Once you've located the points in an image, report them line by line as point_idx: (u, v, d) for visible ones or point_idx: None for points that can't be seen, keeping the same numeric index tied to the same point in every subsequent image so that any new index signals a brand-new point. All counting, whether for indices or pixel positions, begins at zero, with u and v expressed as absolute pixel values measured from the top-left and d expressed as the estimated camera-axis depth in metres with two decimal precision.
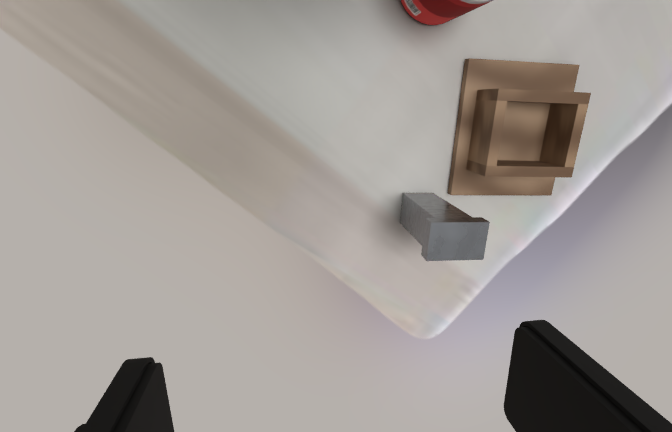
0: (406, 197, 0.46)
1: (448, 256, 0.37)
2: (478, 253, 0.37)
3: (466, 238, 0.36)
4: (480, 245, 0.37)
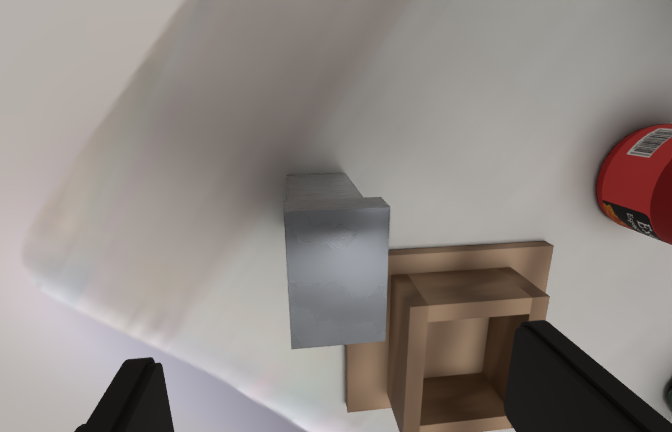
0: (345, 177, 0.24)
1: (297, 266, 0.14)
2: (307, 335, 0.15)
3: (346, 299, 0.15)
4: (328, 334, 0.15)
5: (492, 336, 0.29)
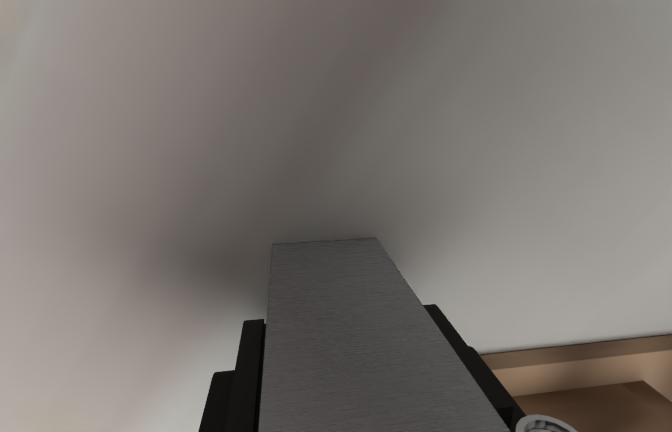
0: (380, 253, 0.13)
1: None
2: None
3: None
4: None
5: None
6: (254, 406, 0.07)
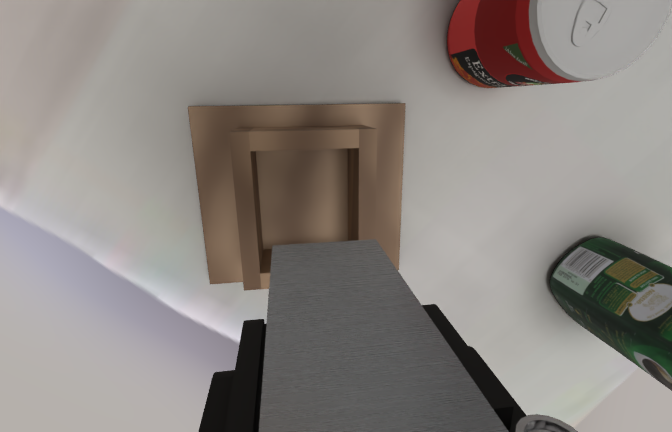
0: (380, 254, 0.13)
1: None
2: None
3: None
4: None
5: (349, 199, 0.29)
6: (254, 406, 0.07)
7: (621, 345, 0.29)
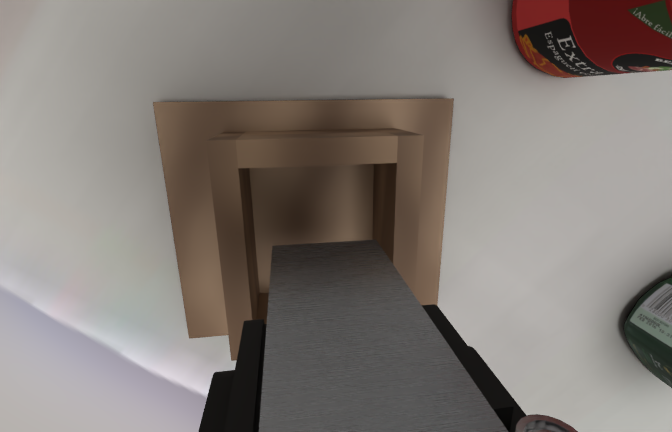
0: (380, 254, 0.13)
1: None
2: None
3: None
4: None
5: (375, 228, 0.22)
6: (254, 406, 0.07)
7: None
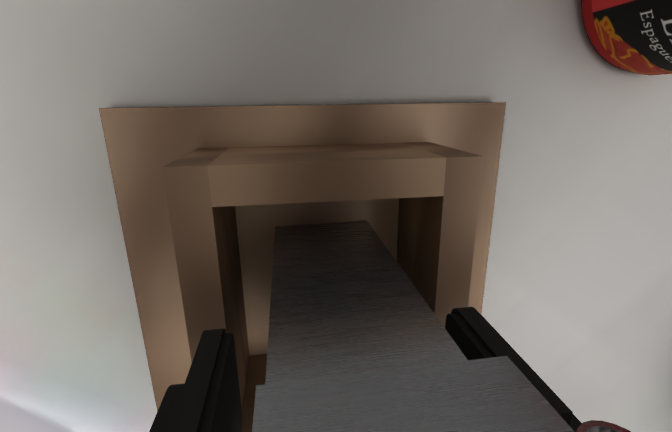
0: (369, 232, 0.15)
1: None
2: None
3: None
4: None
5: None
6: (197, 425, 0.07)
7: None
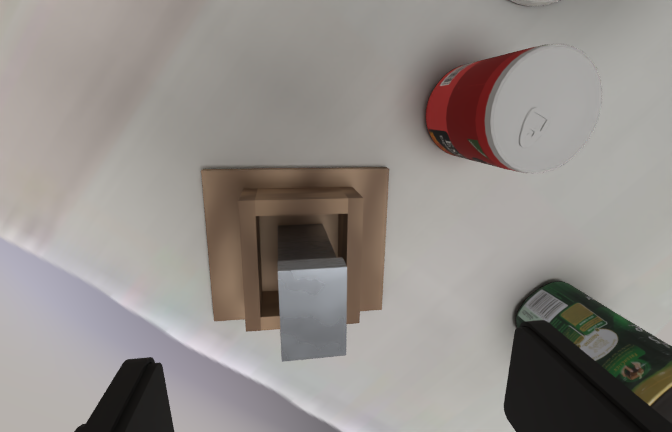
0: (322, 228, 0.32)
1: (286, 305, 0.22)
2: (292, 351, 0.23)
3: (319, 327, 0.22)
4: (306, 351, 0.23)
5: (339, 249, 0.33)
6: None
7: None
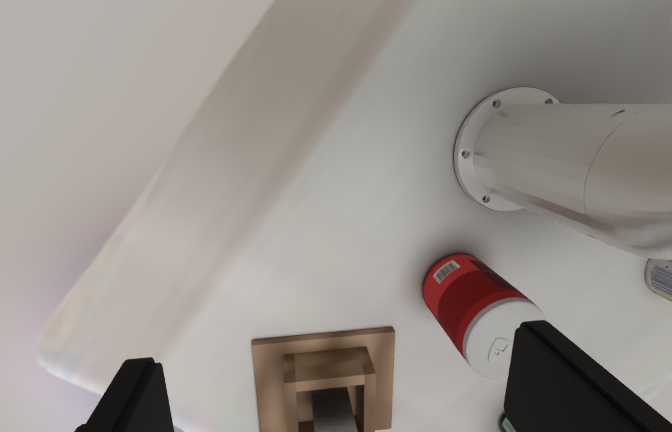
0: None
1: None
2: None
3: None
4: None
5: (357, 392, 0.43)
6: None
7: None
